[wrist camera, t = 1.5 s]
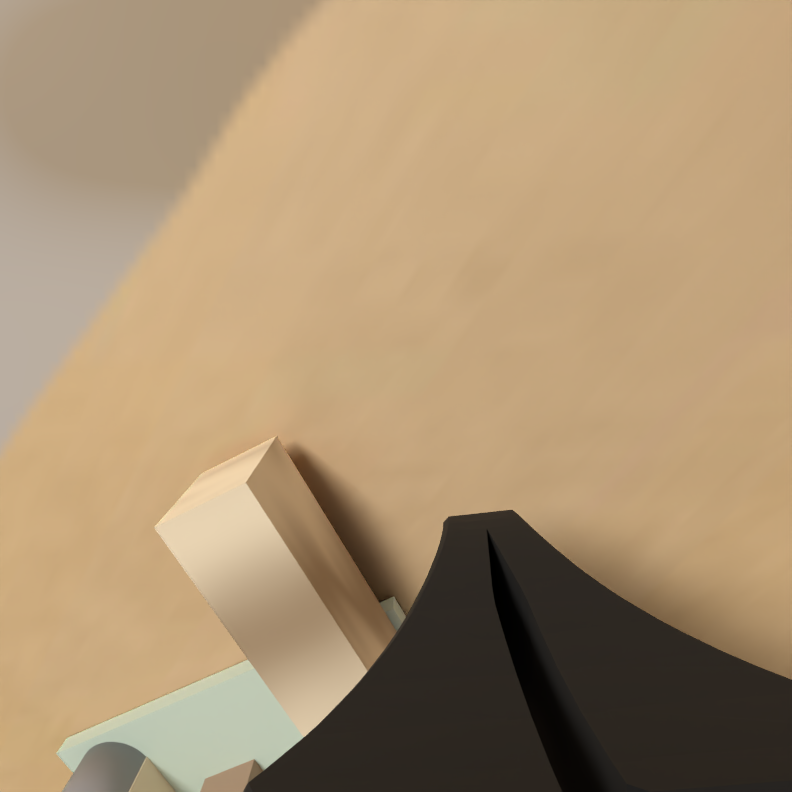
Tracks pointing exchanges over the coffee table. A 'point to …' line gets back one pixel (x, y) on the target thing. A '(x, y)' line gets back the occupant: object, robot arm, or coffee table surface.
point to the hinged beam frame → (190, 737)
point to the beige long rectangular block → (279, 580)
